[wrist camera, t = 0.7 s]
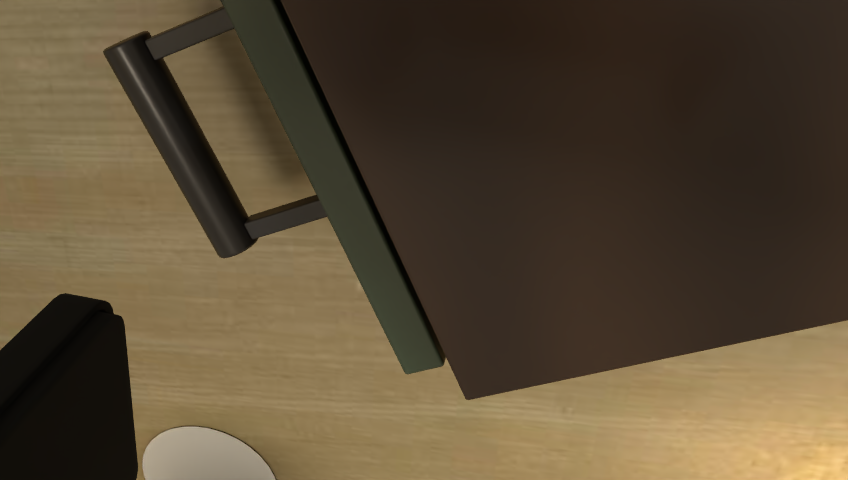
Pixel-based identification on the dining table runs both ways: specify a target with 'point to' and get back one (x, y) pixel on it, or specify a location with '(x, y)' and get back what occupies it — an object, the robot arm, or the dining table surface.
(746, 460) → the dining table surface
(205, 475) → the champagne flute
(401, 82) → the cabinet
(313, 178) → the drawer
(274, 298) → the dining table surface
